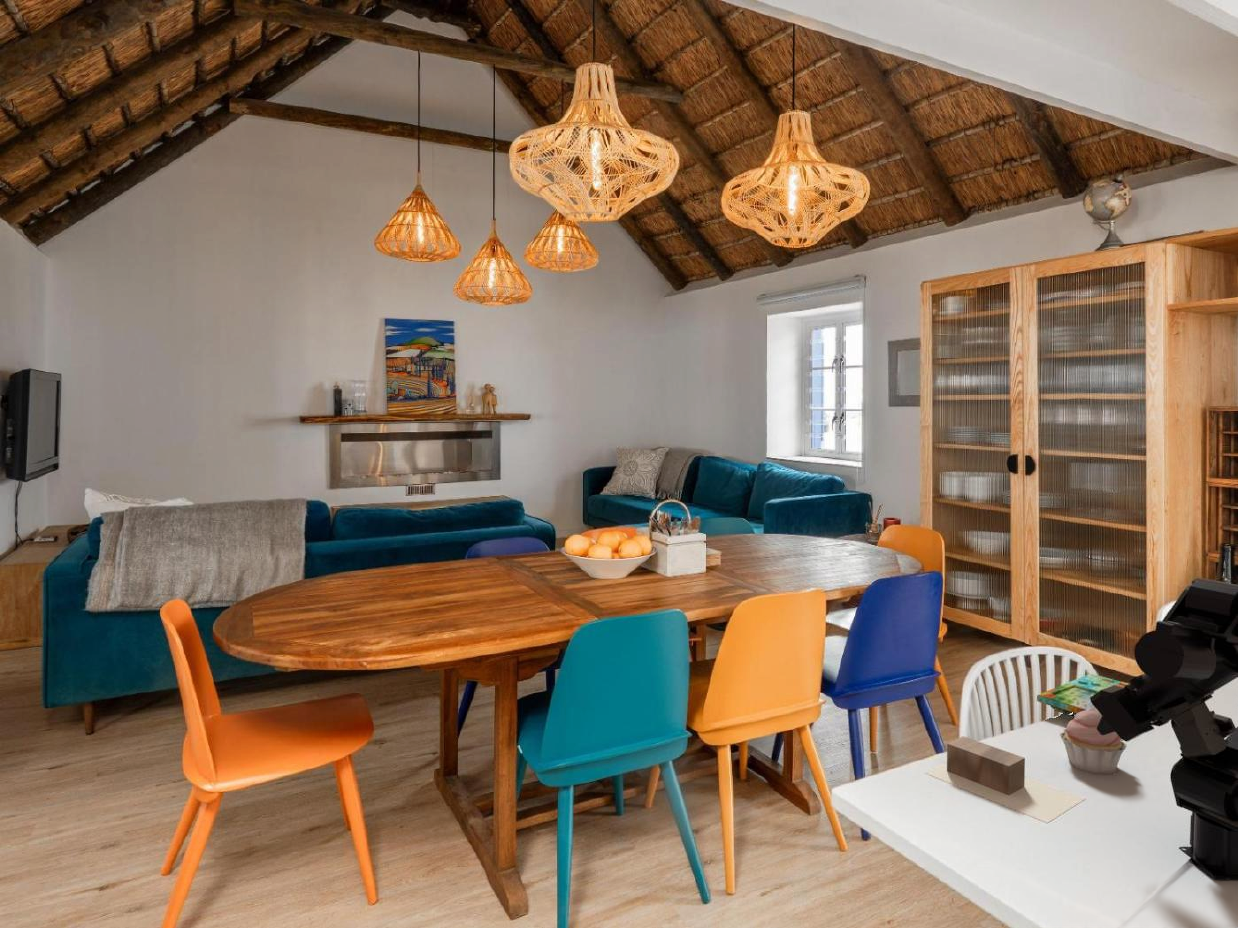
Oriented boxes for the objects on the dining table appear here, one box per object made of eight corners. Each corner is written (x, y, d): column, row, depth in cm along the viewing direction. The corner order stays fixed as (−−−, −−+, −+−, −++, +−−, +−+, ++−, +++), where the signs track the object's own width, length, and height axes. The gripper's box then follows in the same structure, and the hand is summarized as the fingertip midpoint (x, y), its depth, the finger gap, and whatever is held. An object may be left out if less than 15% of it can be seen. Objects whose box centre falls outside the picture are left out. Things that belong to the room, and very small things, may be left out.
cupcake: (1125, 762, 128) (1126, 702, 128) (1127, 786, 120) (1129, 722, 120) (1059, 750, 133) (1060, 692, 132) (1057, 773, 125) (1059, 712, 124)
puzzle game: (1156, 686, 150) (1102, 709, 139) (1155, 710, 150) (1102, 735, 139) (1092, 669, 160) (1037, 690, 149) (1091, 692, 160) (1036, 714, 149)
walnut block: (1024, 757, 120) (963, 736, 128) (1009, 766, 117) (947, 743, 125) (1024, 786, 120) (962, 763, 128) (1008, 795, 117) (946, 770, 125)
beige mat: (1085, 802, 116) (1085, 798, 116) (1047, 827, 110) (1047, 822, 110) (963, 757, 131) (964, 753, 131) (924, 776, 125) (924, 772, 125)
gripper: (1213, 749, 89) (1109, 806, 99) (1279, 714, 99) (1178, 770, 109) (1138, 663, 95) (1047, 725, 105) (1206, 639, 105) (1117, 698, 115)
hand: (1100, 731), depth 108 cm, fingers closed
